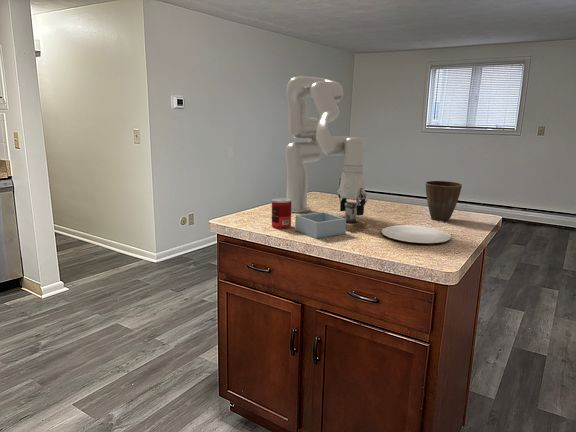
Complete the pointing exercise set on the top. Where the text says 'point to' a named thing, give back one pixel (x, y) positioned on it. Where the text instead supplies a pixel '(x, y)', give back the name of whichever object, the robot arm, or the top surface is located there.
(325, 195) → the top surface
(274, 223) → the canned food
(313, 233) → the bin
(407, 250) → the top surface
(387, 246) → the top surface
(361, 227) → the socket block
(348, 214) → the peg
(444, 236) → the plate
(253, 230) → the top surface
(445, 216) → the plant pot
